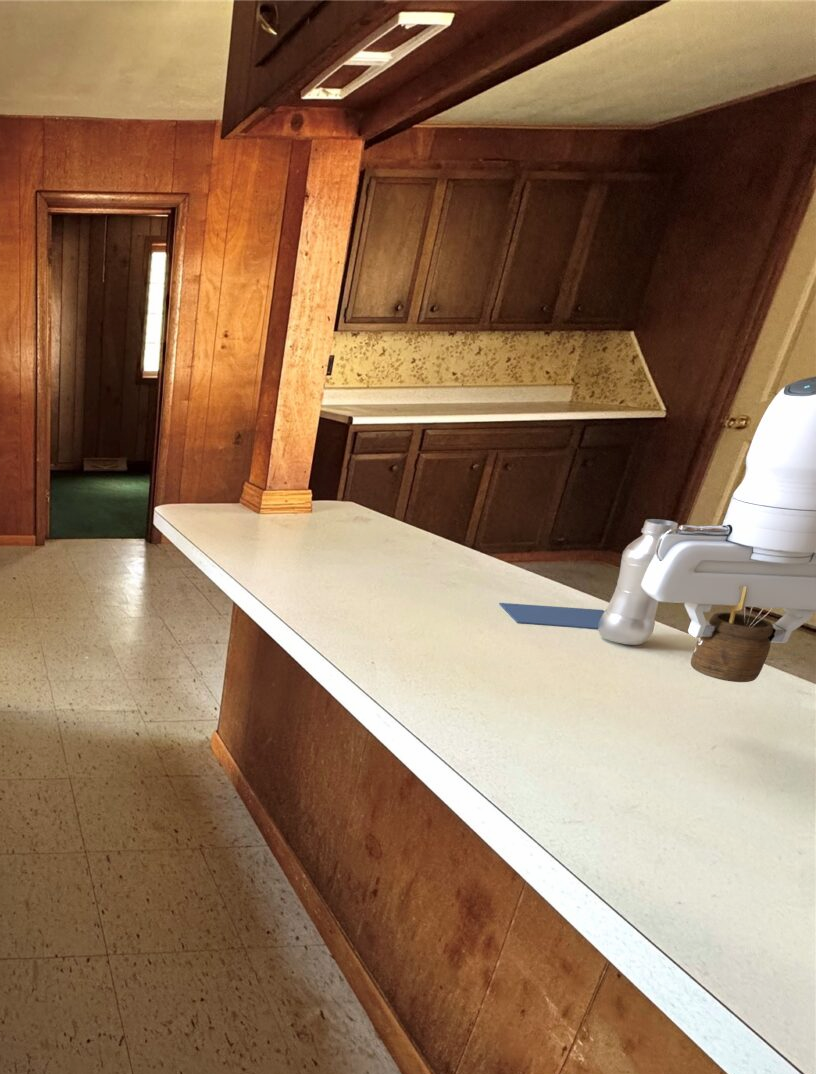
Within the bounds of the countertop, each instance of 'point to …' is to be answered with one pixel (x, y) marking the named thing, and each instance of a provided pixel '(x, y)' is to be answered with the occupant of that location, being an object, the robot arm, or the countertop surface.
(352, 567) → the countertop surface
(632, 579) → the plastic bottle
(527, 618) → the mat
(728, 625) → the utensil holder
